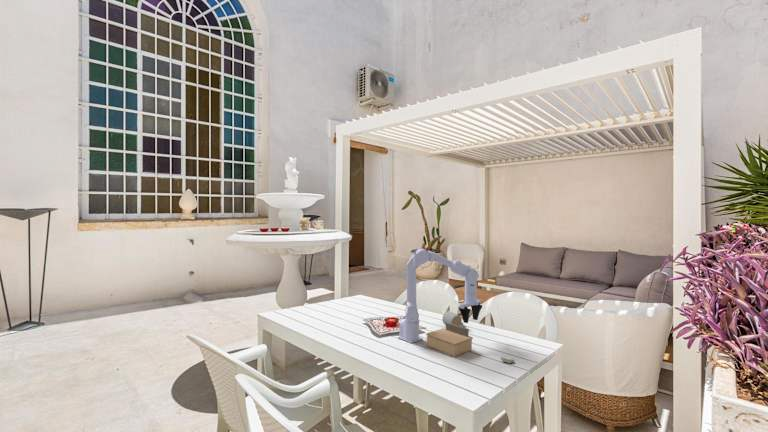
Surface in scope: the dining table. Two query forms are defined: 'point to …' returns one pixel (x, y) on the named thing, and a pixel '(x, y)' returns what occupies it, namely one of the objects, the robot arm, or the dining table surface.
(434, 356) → the dining table surface
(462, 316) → the robot arm
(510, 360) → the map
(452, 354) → the carton
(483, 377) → the dining table surface
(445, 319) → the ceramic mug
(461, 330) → the carton lid
